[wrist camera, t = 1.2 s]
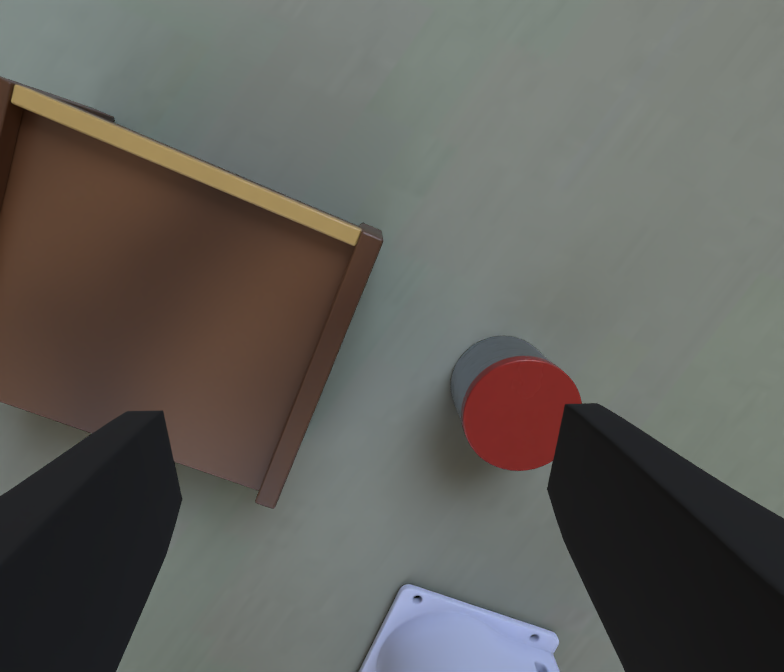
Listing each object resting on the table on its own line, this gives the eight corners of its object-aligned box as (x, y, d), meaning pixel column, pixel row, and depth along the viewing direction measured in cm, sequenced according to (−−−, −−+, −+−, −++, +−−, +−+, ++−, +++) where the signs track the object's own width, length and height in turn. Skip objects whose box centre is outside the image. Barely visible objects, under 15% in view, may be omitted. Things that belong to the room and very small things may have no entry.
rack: (382, 230, 22) (384, 239, 17) (297, 440, 25) (274, 510, 19) (91, 107, 21) (-16, 70, 15) (31, 344, 23) (-80, 389, 17)
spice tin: (567, 356, 24) (604, 386, 20) (522, 443, 25) (548, 486, 21) (475, 318, 23) (495, 341, 19) (433, 409, 24) (443, 447, 21)
